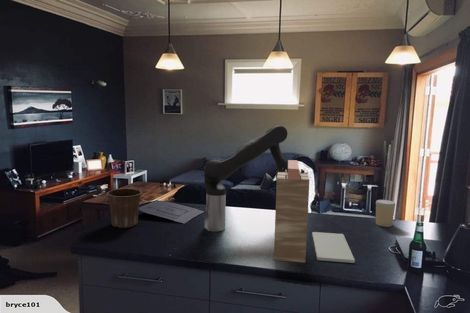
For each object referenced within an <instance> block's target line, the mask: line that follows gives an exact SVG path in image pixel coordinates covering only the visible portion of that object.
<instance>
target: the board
mask: <svg viewBox="0 0 470 313" xmlns="http://www.w3.org/2000/svg"><path fill="white" fill-rule="evenodd" d="M311 235H312V240H313V245H314V250H315V255H316V259H317V260H316V261H322V262H323V261H324V262H325V261H326V262H337V263H351V264H356V263H355V262H356V259H355V257H354V255H353V253H352V251H351V248H350V246H349V244H348V242H347V240H346V237H345V235H344V234H343V233H334V232H333V233H332V232H320V231H312V233H311Z"/></svg>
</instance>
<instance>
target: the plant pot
mask: <svg viewBox="0 0 470 313" xmlns="http://www.w3.org/2000/svg"><path fill="white" fill-rule="evenodd" d="M142 194H143V193H142V190H140V189H136V188H117V189H112V190H109V191H107V192H106V195H107V198H108V199H107V200H108V202H109V210H110V220H111V226H112V227H114V228H116V227H117V228H119V229H122V228H123V229H127V228H132V227H134V226H137V225H138V223H139V222H138V220H139V211H140V210H139V207H140V201H141V195H142Z"/></svg>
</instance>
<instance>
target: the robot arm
mask: <svg viewBox="0 0 470 313" xmlns="http://www.w3.org/2000/svg"><path fill="white" fill-rule="evenodd" d="M286 139H288V129H286V127H285V126H283V125H280V124H279V125H275V126H273V127H271V128H269V129H267V130H266V132H265V133H264V134H263V135H260V136H258V137H255V138H253V139H251V140H248V141H246V142H245V143H243V144H241V145H240V146H239V147H238V148H237V150H236V151H235V153H234V154H233V155H232V156H231V157H229V158H226V159H224V160H218V159H210V160H208V161H206V163H205V165H204V174H203V175H204V178H203V179H204V187H205V191H206V194H205V195H206V196H205V197H206V199H205V203H206V204H205V208H204V229H206V231H208V232H222V231H225V230H226V204H227V201H226V198H227V196H226V195H227V190H226V186H224V185H223V182H222V181H225V180H227V179H228V178H229V177H230V176H231V175H233V174H234V173H235V172H237V171H238V170H239V169H241V168H242V167H244V166H245V165H247V164H249V163H250V162H252V161H254V160H255V159H257V158H259V157H260V156H262V154H265V152H267V151H268V150H269V151H270V153H271V157H272V158H273V161H274V163H275V167H276V169H277V170H276V171H275V180H276V181H277V174H278V172H286V170H287V173H288V160H287V159H286V157H285V156H284V154H283V153H282V150H281V147H280V144H281V143H283V142H285V141H286ZM300 173H305V169H303V168H301V169H300Z"/></svg>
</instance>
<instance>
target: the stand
mask: <svg viewBox="0 0 470 313" xmlns="http://www.w3.org/2000/svg"><path fill="white" fill-rule="evenodd" d="M300 172H301V169H299V180H292V179H288V173H287V170H286V172H278V174H277V180H276V192H275V212H274V213H275V215H274V216H275V219H274V220H275V221H274V244H273V261H279V262H292V263H303V264H305V263H306V259H307V258H306V257H307V255H306V254H307V241H308V240H307V237H308V235H307V234H308V220H309V215H308V214H309V197H310V177H309V173H308V172H304V173H300Z"/></svg>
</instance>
